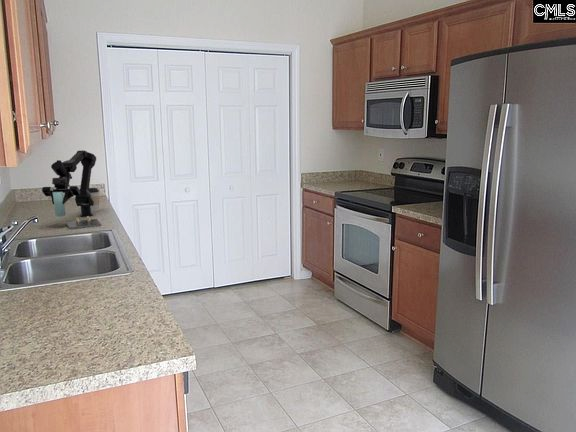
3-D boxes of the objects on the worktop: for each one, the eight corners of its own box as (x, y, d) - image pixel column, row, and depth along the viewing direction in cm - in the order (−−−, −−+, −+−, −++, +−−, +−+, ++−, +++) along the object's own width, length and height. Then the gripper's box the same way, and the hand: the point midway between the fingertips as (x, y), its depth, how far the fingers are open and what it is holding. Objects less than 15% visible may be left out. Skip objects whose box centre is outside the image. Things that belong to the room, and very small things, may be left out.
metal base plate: (66, 224, 265) (65, 216, 264) (96, 220, 272) (96, 213, 272) (69, 229, 251) (68, 221, 250) (101, 225, 259) (100, 218, 258)
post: (55, 215, 258) (52, 191, 255) (65, 214, 260) (62, 191, 257) (55, 216, 254) (52, 193, 251) (65, 215, 256) (63, 192, 253)
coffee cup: (86, 210, 306) (83, 187, 303) (101, 209, 309) (98, 186, 306) (85, 212, 298) (83, 189, 295) (100, 211, 301) (98, 188, 298)
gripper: (40, 172, 255) (34, 195, 247) (75, 171, 256) (70, 194, 248) (48, 184, 265) (42, 207, 256) (82, 183, 266) (77, 206, 257)
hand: (58, 203), depth 254 cm, fingers closed on post, 5 cm apart
